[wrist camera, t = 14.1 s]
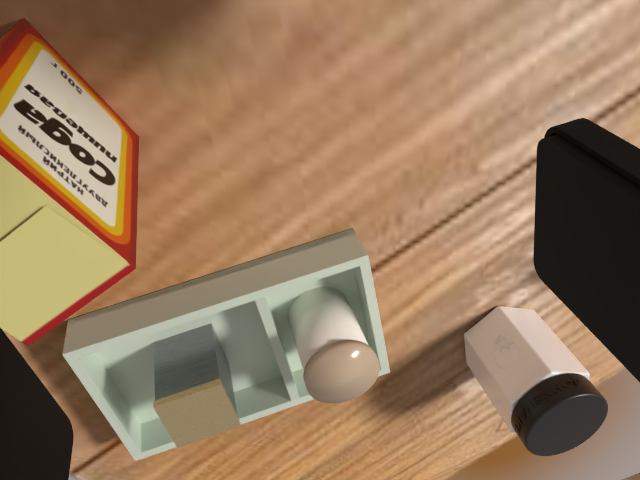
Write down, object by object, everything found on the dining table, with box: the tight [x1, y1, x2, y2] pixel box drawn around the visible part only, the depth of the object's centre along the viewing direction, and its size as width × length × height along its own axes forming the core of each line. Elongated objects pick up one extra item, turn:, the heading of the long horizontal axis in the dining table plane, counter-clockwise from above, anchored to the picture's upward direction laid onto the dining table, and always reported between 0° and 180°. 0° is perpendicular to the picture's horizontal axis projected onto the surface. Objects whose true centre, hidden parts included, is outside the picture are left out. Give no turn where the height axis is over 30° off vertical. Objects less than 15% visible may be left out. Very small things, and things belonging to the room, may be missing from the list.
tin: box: [153, 323, 241, 448], centre depth 46 cm, size 5×5×7 cm
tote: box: [62, 228, 390, 461], centre depth 48 cm, size 24×14×4 cm, turn 103°
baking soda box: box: [0, 18, 139, 346], centre depth 30 cm, size 10×6×16 cm
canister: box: [287, 287, 380, 403], centre depth 47 cm, size 6×6×8 cm
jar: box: [464, 306, 608, 456], centre depth 54 cm, size 9×8×12 cm
